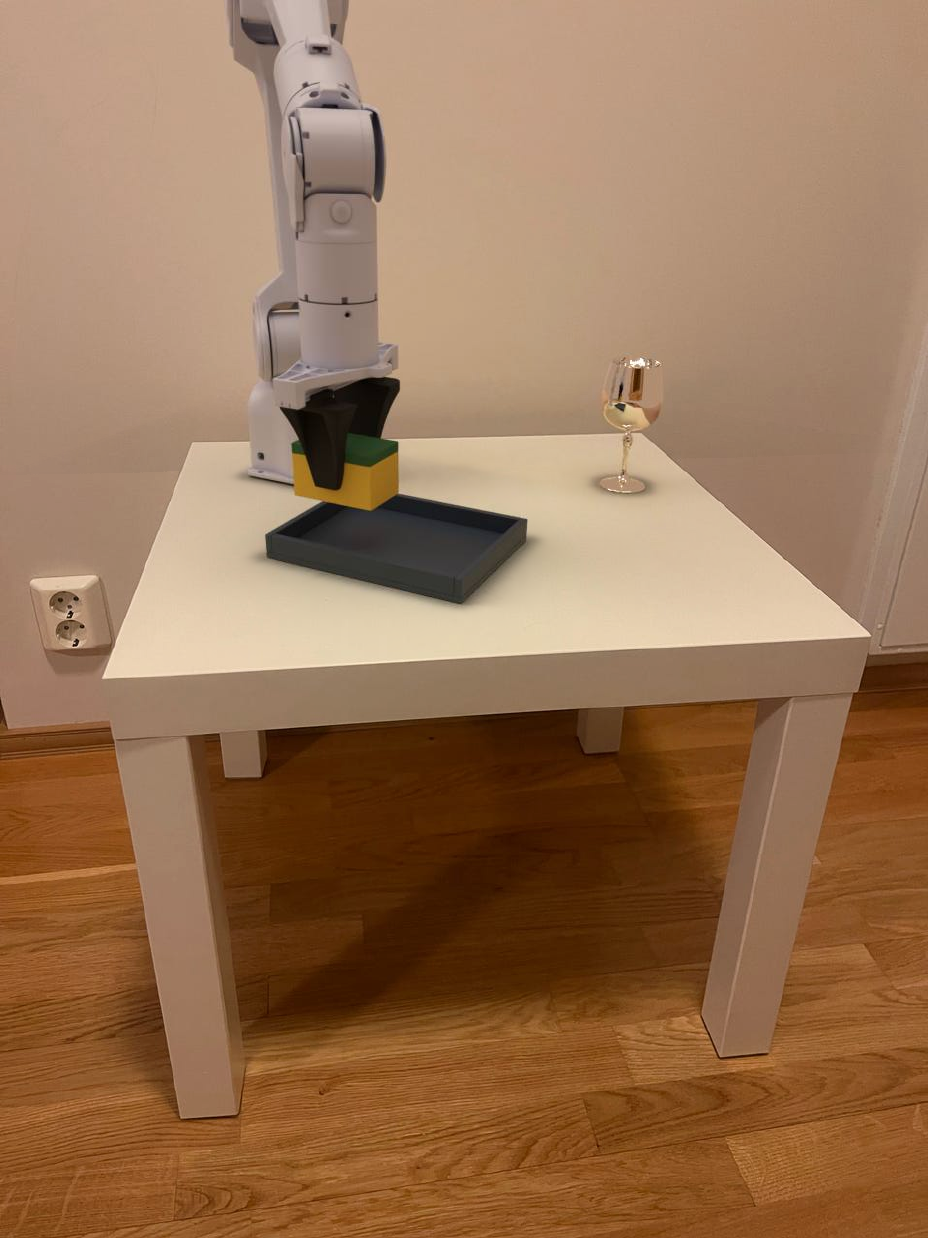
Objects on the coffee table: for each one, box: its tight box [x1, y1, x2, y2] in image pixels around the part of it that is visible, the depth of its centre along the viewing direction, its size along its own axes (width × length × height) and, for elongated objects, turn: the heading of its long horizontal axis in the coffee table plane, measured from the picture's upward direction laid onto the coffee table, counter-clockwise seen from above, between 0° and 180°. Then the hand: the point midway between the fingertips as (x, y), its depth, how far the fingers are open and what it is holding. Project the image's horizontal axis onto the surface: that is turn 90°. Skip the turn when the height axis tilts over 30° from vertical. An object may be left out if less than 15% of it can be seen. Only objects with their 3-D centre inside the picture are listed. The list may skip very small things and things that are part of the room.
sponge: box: [291, 433, 400, 511], centre depth 72 cm, size 7×4×4 cm, turn 65°
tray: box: [264, 493, 528, 605], centre depth 74 cm, size 17×13×2 cm
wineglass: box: [599, 356, 665, 494], centre depth 87 cm, size 6×6×12 cm
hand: (344, 477), depth 72 cm, fingers closed on sponge, 4 cm apart
